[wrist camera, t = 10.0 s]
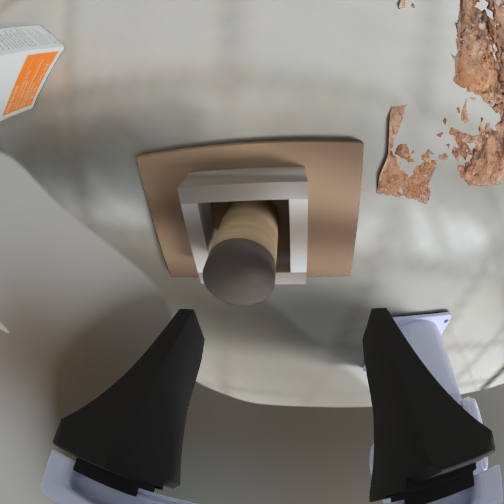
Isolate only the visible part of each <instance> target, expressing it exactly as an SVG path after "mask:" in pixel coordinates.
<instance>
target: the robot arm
mask: <svg viewBox="0 0 504 504" xmlns="http://www.w3.org/2000/svg"><path fill="white" fill-rule="evenodd" d="M451 317H452V315H451V313H450V312H443V313H433V314H423V315H413V316H401V317H392V316H391V314H390V313H389V311H388V310H387V309H386V308H375V309H372V310H371V314H370V317H369V320H368V324H367V327H366V331H365V334H364V337H363V349H364V361H365V365H364V367H363V371H364V372H367V378H368V383H369V389H370V394H371V400H372V406H373V415H374V444H373V445H372V448H371V452H370V471H371V475H372V480H371V488H370V502H373V501H379V500H382V501H383V502H384V504H503V494H502V480H501V471H500V465H499V464H498V465H496V466H494V467H492V468H490V469H487V467H488V456H489V455H490V454H492V453H494V451H495V445H494V439H493V434H492V431H491V430H490V429H488V428H487V427H486V426H484V425H483V423H482V419H481V415H480V412H479V408H478V405H477V403H476V400H475V399H472V398H470V397H466V398H464V399H462V397H461V396H460V392H459V389H458V385H457V381H456V378H455V375H454V371H453V368H452V365H451V362H450V359H449V356H448V353H447V350H446V347H445V344H444V341H443V338H442V336H441V335H442V333H443V331H444V329H445V328H446V326H447V324H448V322H449V320H450V319H451ZM203 346H204V337H203V334H202V331H201V329H200V326H199V323H198V320H197V317H196V315H195V312H194V310H191V309H180V310H179V311H178V312H177V313H176V315H175V316H174V317H173V318H172V320H171V321H170V322H169V324H168V325H167V326H166V328H165V329H164V330H163V331H162V333H161V334H160V335H159V337H158V338H157V339H156V340H155V342H154V343H153V344H152V345H151V346H150V347H149V349H148V350H147V351H146V352H145V353H144V354H143V356H142V357H141V358H140V359H139V360H138V361H137V362H136V363H135V364H134V365H133V366H132V368H131V369H130V370H128V372H126V373H125V374H124V375H123V376H122V377H121V378H120V379H119V380H118V381H117V382H116V383H115V384H114V385H112V386H111V387H110V388H109V389H108V390H106V391H105V392H104V393H102V394H101V395H100V396H99V397H97V398H96V399H94V400H93V401H91V402H90V403H88V404H87V405H86V406H84V407H82V408H81V409H79V410H77V411H76V412H74V413H72V414H70V415H68V416H67V417H65V418H63V419H61V422H60V424H59V427H58V429H57V432H56V435H55V437H54V440H53V443H54V444H55V445H56V446H58V447H60V448H61V449H63V450H65V451H67V452H68V453H70V454H72V455H74V456H76V457H77V459H76V461H74V460H72V459H70V458H68V457H66V456H64V455H62V454H61V453H59V452H57V451H55V450H52V452H51V455H50V458H49V461H48V464H47V467H46V471H45V473H44V476H43V480H42V483H41V486H40V490H41V491H42V492H43V493H45V494H46V495H47V496H49V497H50V498H52V499H53V500H55V501H56V502H58V503H59V504H198V503H193V502H188V501H184V500H180V499H176V498H172V497H168V496H164V495H160V494H157V493H154V490H155V488H157V489H160V490H162V489H163V486H166V487H170V488H176V487H177V486H179V485H180V468H181V454H182V444H183V436H184V435H183V434H184V428H185V421H186V415H187V410H188V406H189V401H190V398H191V394H192V391H193V388H194V384H195V381H196V377H197V374H198V370H199V367H200V363H201V359H202V353H203ZM486 469H487V470H486Z"/></svg>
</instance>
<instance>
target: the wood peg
mask: <svg viewBox="0 0 504 504" xmlns="http://www.w3.org/2000/svg"><path fill="white" fill-rule="evenodd" d="M278 226H279V214H278V211H277V208H276V207H275V205H274V204H273V203H272V202H271V201H270V200H252V201H231V202H230V203H229V204H228V206H227V208H226V211H225V213H224V216H223V218H222V221H221V223H220V226H219V229H218V231H217V234H216V236H215V239H214V242H213V244H212V247H211V250H210V252H209V255H208V257H207V260H206V263H205V266H204V268H203V281H204V283H205V285H206V287H207V289H208V290H209V291H210V292H211V293H212V294H213V295H214V296H216V297H217V298H219V299H220V300H222V301H224V302H227V303H230V304H234V305H252V304H256V303H259V302H261V301H263V300H264V299H266V298H267V297H268V296H269V295H270V294H271V293H272V291H273V289H274V286H275V274H276V259H277V243H278Z"/></svg>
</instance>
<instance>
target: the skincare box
mask: <svg viewBox="0 0 504 504" xmlns="http://www.w3.org/2000/svg"><path fill="white" fill-rule="evenodd" d="M63 49H64V45H63V44H62V43H61V42H59V41H58V40H57V39H56V38H55V37H53V36H52V35H51V34H50V33H49V32H48V31H47V30H45V29H44V28H43V27H42V26H40V25H35V26H20V27H10V28H2V29H0V121H2V120H4V119H7V118H9V117H11V116H14V115H16V114H19V113H21V112H24V111H26V110H29V109H31V108H33V106H34V103H35V101H36V98H37V96H38V94H39V92H40V90H41V88H42V86H43V84H44V82H45V80H46V78H47V76H48V74H49V72H50V71H51V69H52V67H53V65H54V64H55V62H56V60H57V59H58V57H59V55H60V54H61V52H62V51H63Z"/></svg>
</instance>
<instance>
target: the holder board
mask: <svg viewBox="0 0 504 504" xmlns="http://www.w3.org/2000/svg"><path fill="white" fill-rule="evenodd" d="M363 146H364V143H363V142H362V141H357V140H271V141H252V142H238V143H226V144H215V145H205V146H197V147H188V148H181V149H173V150H167V151H160V152H154V153H148V154H142V155H139V156H138V157H136V160H137V164H138V168H139V172H140V176H141V180H142V183H143V187H144V191H145V195H146V198H147V202H148V205H149V209H150V212H151V216H152V219H153V223H154V226H155V229H156V233H157V236H158V239H159V242H160V245H161V249H162V252H163V255H164V258H165V261H166V264H167V267H168V270H169V273H170V276H171V277H199V279H200V282H201V284H205V283H204V281H203V268H204V266H205V263H206V260H207V257H208V255H209V252H210V250H211V247H212V244H213V242H214V239H215V236H216V234H217V231H218V229H219V226H220V223H221V221H222V218H223V216H224V213H225V211H226V208H227V206H228V204H229V203H230V202H231V201H252V200H270V201H271V202H272V203H273V204H274V205H275V207H276V208H277V211H278V214H279V226H278V243H277V259H276V274H275V284H306V277H334V276H350V273H351V266H352V260H353V253H354V246H355V238H356V230H357V222H358V213H359V203H360V192H361V180H362V165H363Z"/></svg>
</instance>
